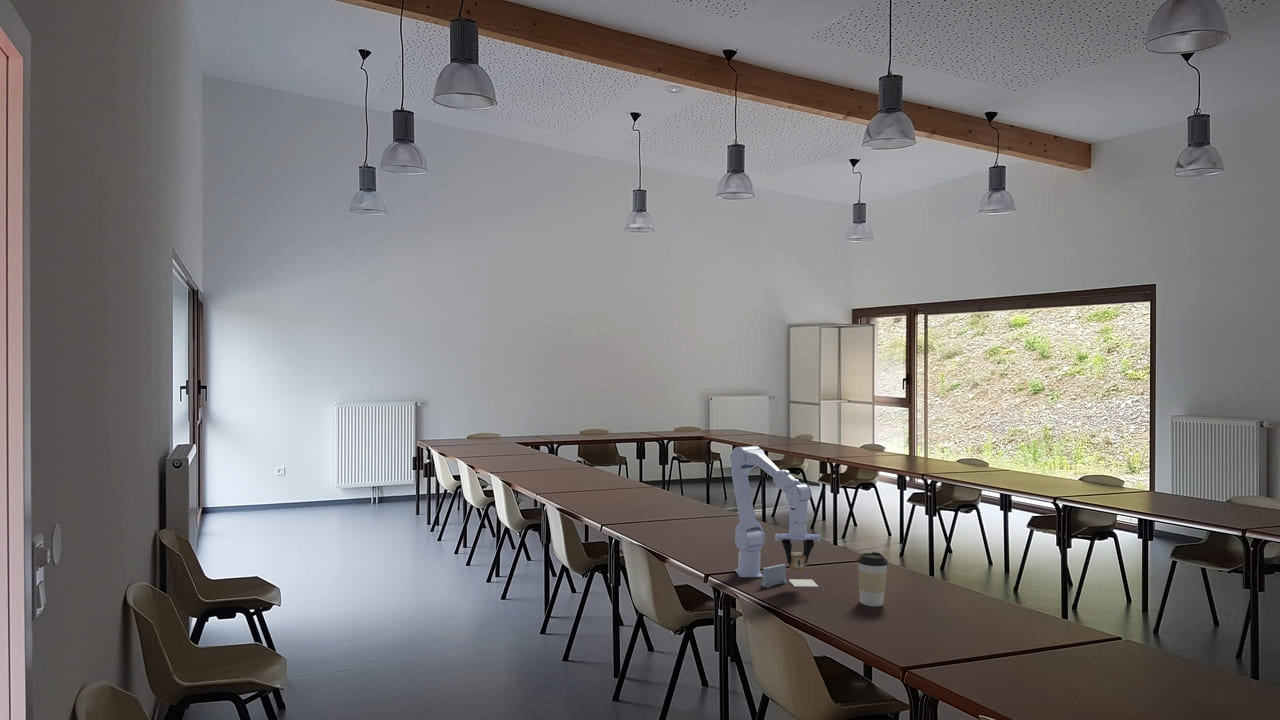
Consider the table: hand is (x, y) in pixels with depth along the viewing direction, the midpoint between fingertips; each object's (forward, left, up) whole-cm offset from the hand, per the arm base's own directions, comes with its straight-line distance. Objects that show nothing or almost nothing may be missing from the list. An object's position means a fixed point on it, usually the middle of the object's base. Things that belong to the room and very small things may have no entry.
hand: (797, 563), depth 272 cm
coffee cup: (+15, +20, -9) cm, 26 cm away
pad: (-6, +4, -8) cm, 11 cm away
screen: (-5, -6, -8) cm, 12 cm away
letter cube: (0, 0, -2) cm, 2 cm away
